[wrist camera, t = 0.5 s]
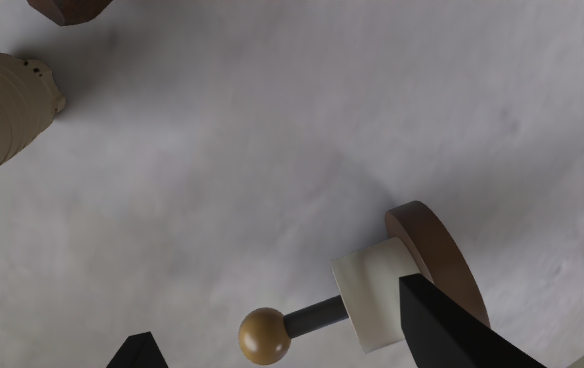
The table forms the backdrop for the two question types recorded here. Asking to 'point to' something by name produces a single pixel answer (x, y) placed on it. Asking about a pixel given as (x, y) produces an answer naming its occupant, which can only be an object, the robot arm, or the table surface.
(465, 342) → the robot arm
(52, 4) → the bolt
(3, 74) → the handle
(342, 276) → the joystick
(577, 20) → the table surface
